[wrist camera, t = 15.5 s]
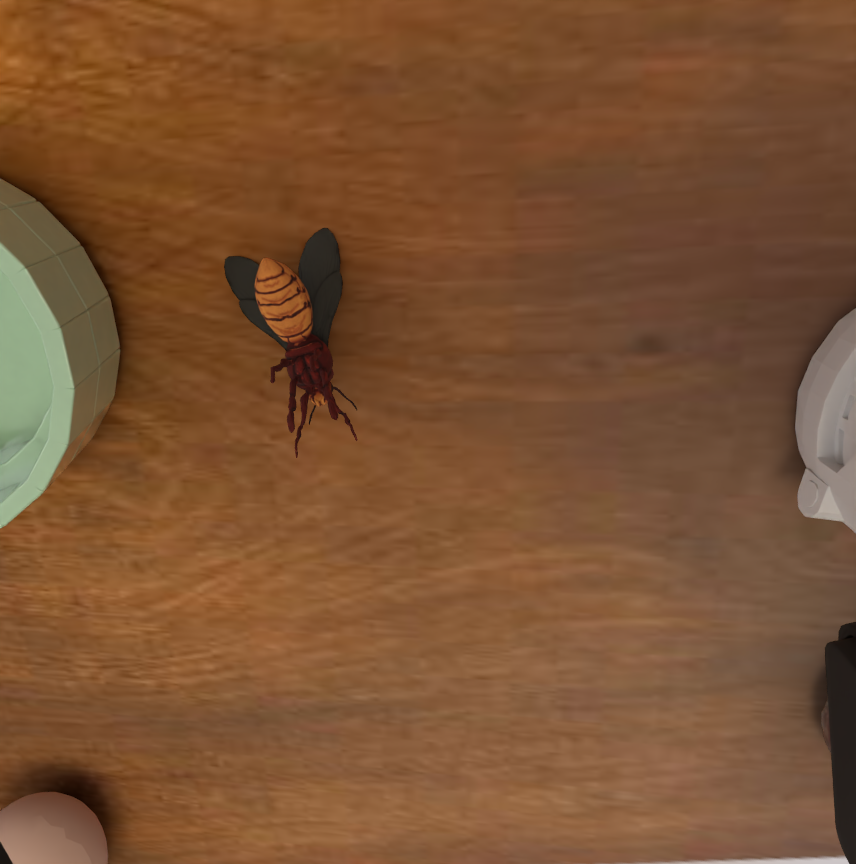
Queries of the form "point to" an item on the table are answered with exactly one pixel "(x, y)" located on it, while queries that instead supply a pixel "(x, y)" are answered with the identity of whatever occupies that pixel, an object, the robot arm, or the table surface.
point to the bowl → (48, 350)
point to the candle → (826, 725)
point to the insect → (296, 317)
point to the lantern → (829, 427)
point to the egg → (52, 831)
